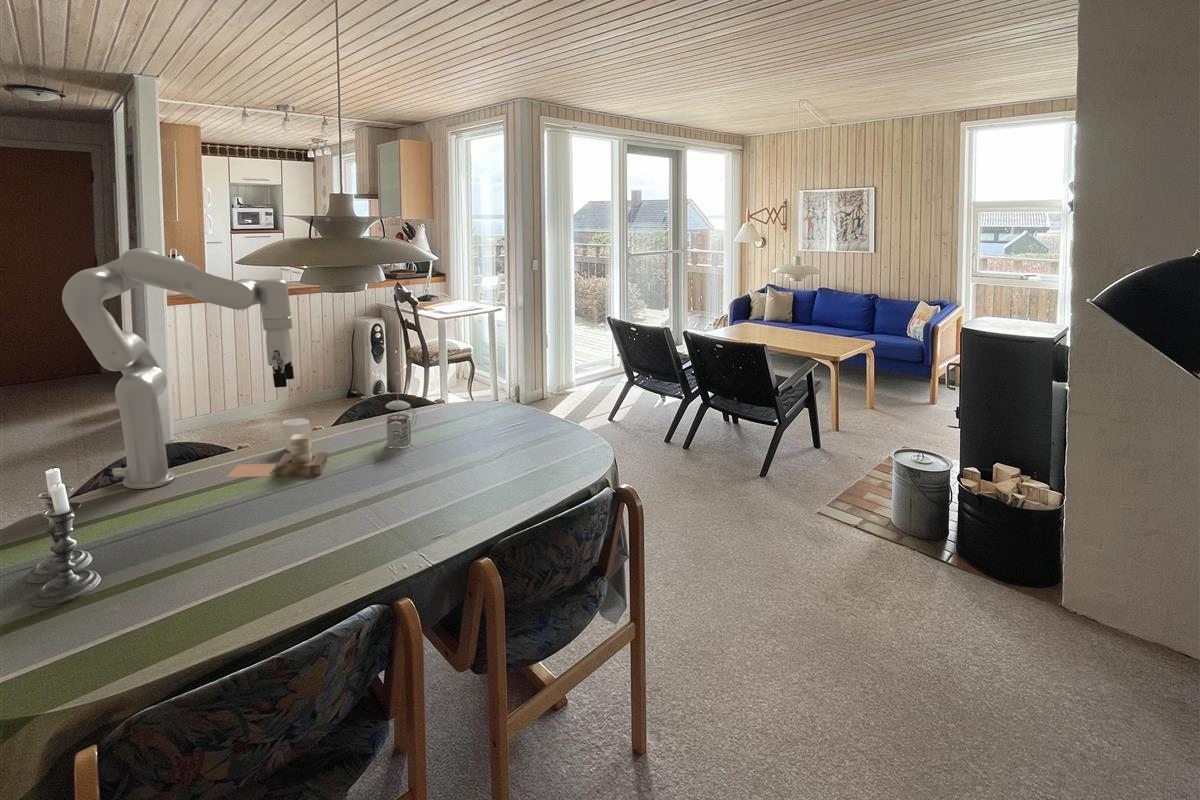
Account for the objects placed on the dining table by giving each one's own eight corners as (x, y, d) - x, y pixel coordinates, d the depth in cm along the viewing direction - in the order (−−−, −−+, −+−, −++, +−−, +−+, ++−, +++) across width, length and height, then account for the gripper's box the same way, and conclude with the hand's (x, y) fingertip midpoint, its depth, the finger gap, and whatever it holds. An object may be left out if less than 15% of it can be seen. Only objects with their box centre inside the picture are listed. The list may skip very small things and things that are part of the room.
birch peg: (292, 471, 212) (289, 439, 210) (295, 466, 217) (293, 434, 215) (310, 471, 213) (308, 438, 211) (313, 465, 218) (311, 433, 216)
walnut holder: (277, 479, 209) (276, 466, 208) (285, 465, 220) (284, 453, 219) (321, 478, 211) (320, 465, 210) (327, 464, 222) (326, 452, 222)
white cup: (316, 450, 235) (314, 421, 232) (294, 456, 228) (292, 426, 226) (301, 446, 239) (299, 416, 236) (279, 451, 232) (277, 422, 230)
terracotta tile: (226, 480, 206) (226, 477, 206) (237, 467, 217) (237, 464, 217) (268, 479, 209) (267, 476, 208) (276, 466, 219) (276, 463, 219)
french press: (378, 444, 244) (375, 371, 237) (407, 437, 252) (405, 367, 246) (395, 451, 237) (392, 376, 231) (424, 443, 246) (422, 372, 240)
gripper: (270, 319, 210) (277, 377, 215) (255, 329, 194) (263, 390, 198) (297, 318, 212) (304, 375, 216) (284, 328, 195) (292, 389, 200)
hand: (284, 382), depth 207 cm, fingers open, 9 cm apart
